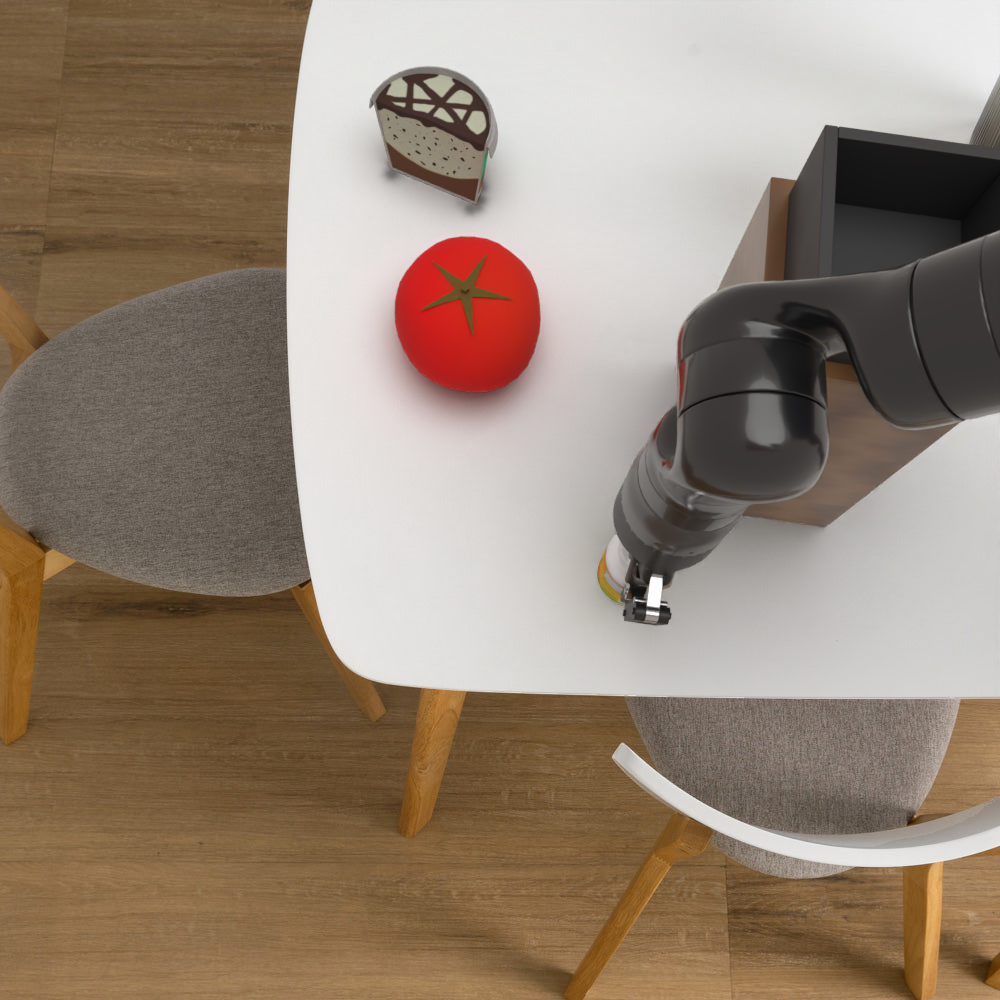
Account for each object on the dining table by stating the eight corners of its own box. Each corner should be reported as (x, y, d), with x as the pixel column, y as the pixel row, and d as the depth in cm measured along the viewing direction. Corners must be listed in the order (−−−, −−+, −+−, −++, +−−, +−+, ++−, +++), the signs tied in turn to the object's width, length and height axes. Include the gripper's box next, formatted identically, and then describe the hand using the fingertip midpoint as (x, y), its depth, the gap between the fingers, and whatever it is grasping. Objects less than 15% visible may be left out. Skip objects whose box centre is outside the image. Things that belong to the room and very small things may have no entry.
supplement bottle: (625, 533, 85) (644, 500, 75) (670, 577, 84) (695, 548, 74) (583, 575, 83) (596, 547, 74) (628, 620, 82) (647, 596, 73)
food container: (516, 162, 96) (521, 91, 86) (490, 210, 94) (492, 143, 84) (404, 116, 97) (397, 41, 88) (376, 163, 95) (366, 92, 86)
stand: (831, 384, 90) (985, 205, 63) (825, 527, 85) (987, 402, 59) (682, 362, 90) (771, 176, 63) (668, 504, 86) (758, 369, 59)
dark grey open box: (966, 219, 62) (1024, 151, 56) (967, 381, 59) (1028, 329, 53) (788, 194, 63) (825, 123, 56) (778, 354, 59) (816, 299, 53)
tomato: (393, 279, 92) (383, 215, 82) (527, 269, 92) (534, 204, 82) (404, 418, 87) (395, 369, 77) (544, 407, 88) (554, 356, 78)
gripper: (730, 616, 60) (675, 656, 76) (745, 405, 64) (690, 484, 80) (610, 599, 60) (581, 642, 76) (633, 389, 64) (601, 471, 80)
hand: (637, 561), depth 78 cm, fingers open, 5 cm apart
